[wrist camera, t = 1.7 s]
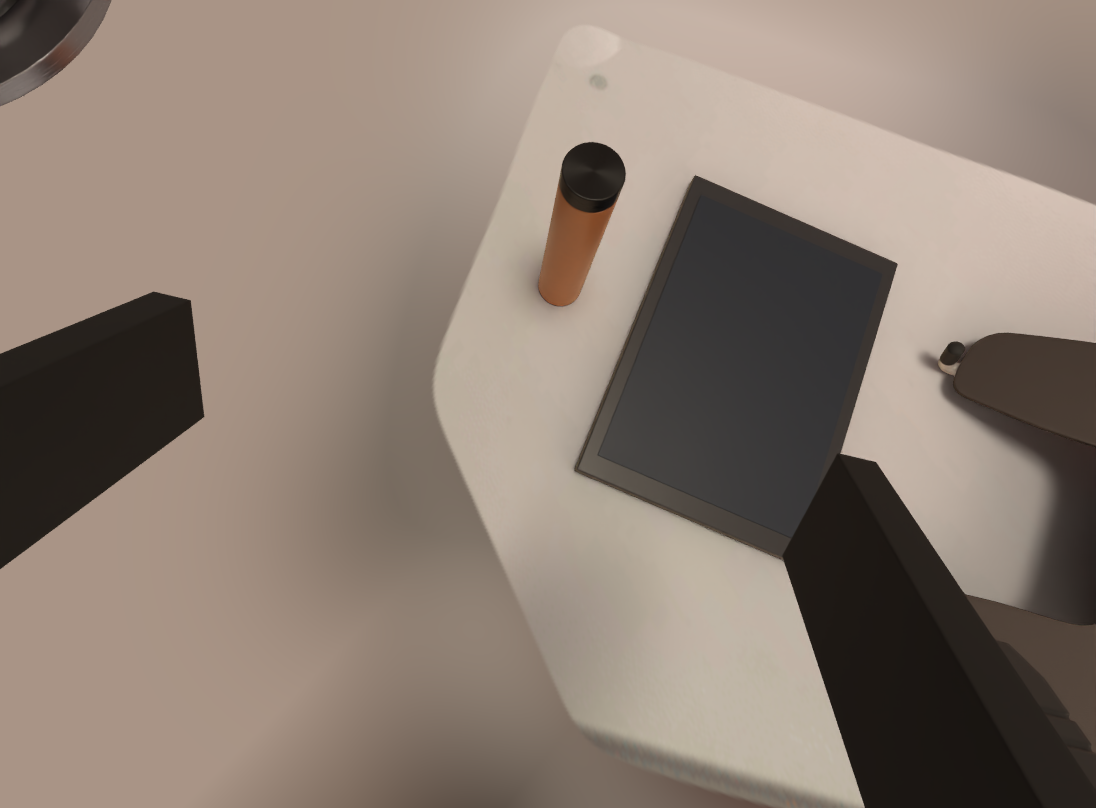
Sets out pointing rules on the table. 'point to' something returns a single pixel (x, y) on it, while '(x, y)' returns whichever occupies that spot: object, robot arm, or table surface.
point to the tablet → (739, 368)
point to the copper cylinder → (579, 219)
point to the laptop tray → (1069, 411)
